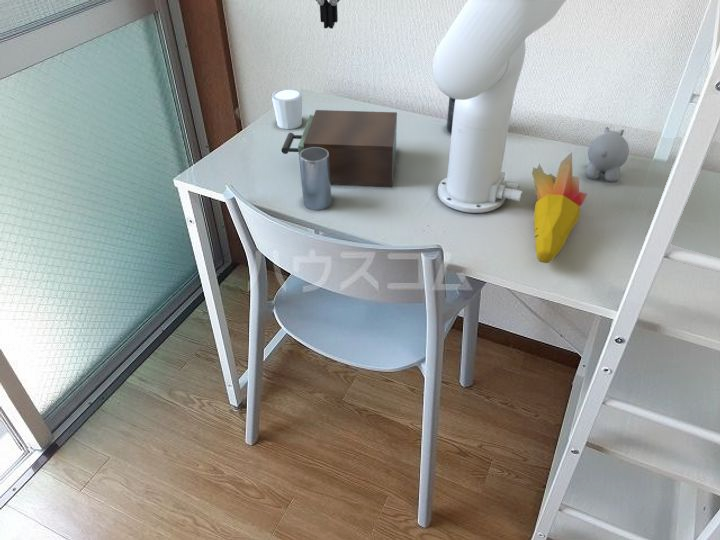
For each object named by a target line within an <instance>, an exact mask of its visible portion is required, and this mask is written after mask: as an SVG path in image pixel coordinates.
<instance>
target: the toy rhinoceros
mask: <svg viewBox="0 0 720 540" xmlns="http://www.w3.org/2000/svg"><path fill="white" fill-rule="evenodd" d="M624 132H625V129H620V130H619V131H616V130H611V129H610V127H609V126H605V128H604V133H601V134H599V135H598V136H596V137H594V139H593V140H591V142H590V144H589V146H588V150H587V158H588V160H589V161H588V164H587V168H586V170H585V172H584V175H585V177H586V178H588V179H590V180H597V179H598V178H599V177H600V174H601V175H604V180H606V181H607V182H610V183H615V182H617V181H618V180H619V178H620V174H621V173H620V169H621V167H622V166H623V165H625V163H626V161H627V160H628V157H629V156H630V155H629V154H630V146H629V144H628V143H629V142H627V140H626V139H625V138H624V137H623V135H624Z"/></svg>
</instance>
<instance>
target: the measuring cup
mask: <svg viewBox="0 0 720 540" xmlns="http://www.w3.org/2000/svg"><path fill="white" fill-rule="evenodd" d="M299 158H300V162H299V169H301V172H300V178H301V179H300V180H301V189H302V200H303V206H304V207H305V208H306V209H308V210H312V211H320V210H321V211H322V210H325V209H327V208H329V207H330V206H331V205H332V200H333V199H332V187H331V185H332V184H331V181H330V163H329V152H328V151H327V150H326V149H324V148H320V147H311V148H307V149H304V150H302V151H301V152H300V154H299V153H298V159H299Z"/></svg>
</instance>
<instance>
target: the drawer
mask: <svg viewBox="0 0 720 540" xmlns="http://www.w3.org/2000/svg"><path fill="white" fill-rule="evenodd" d="M313 117H314V114H311V115H309V117H308V120H307V122H306V125H305V127H304V129H303V132H302V134H294V132H288V133H287V135H286V138H285V140H284V142H283V145H282V147H281V152H282V154H284V155H287V154H288V153H298V155H299V154H300V152H301V151H302V150H304V145H303V143H304V141H305V138H306V135H307V133H308V130H309V127H310V125H311V122H312V119H313ZM294 139H295V140H299V143H298V145H297V147H292V144H293V142H294ZM298 160H299V161H298V162H299V163H300V158H299V157H298ZM299 169H300V168H299ZM299 172H300V173H301V169H300V171H299Z"/></svg>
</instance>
